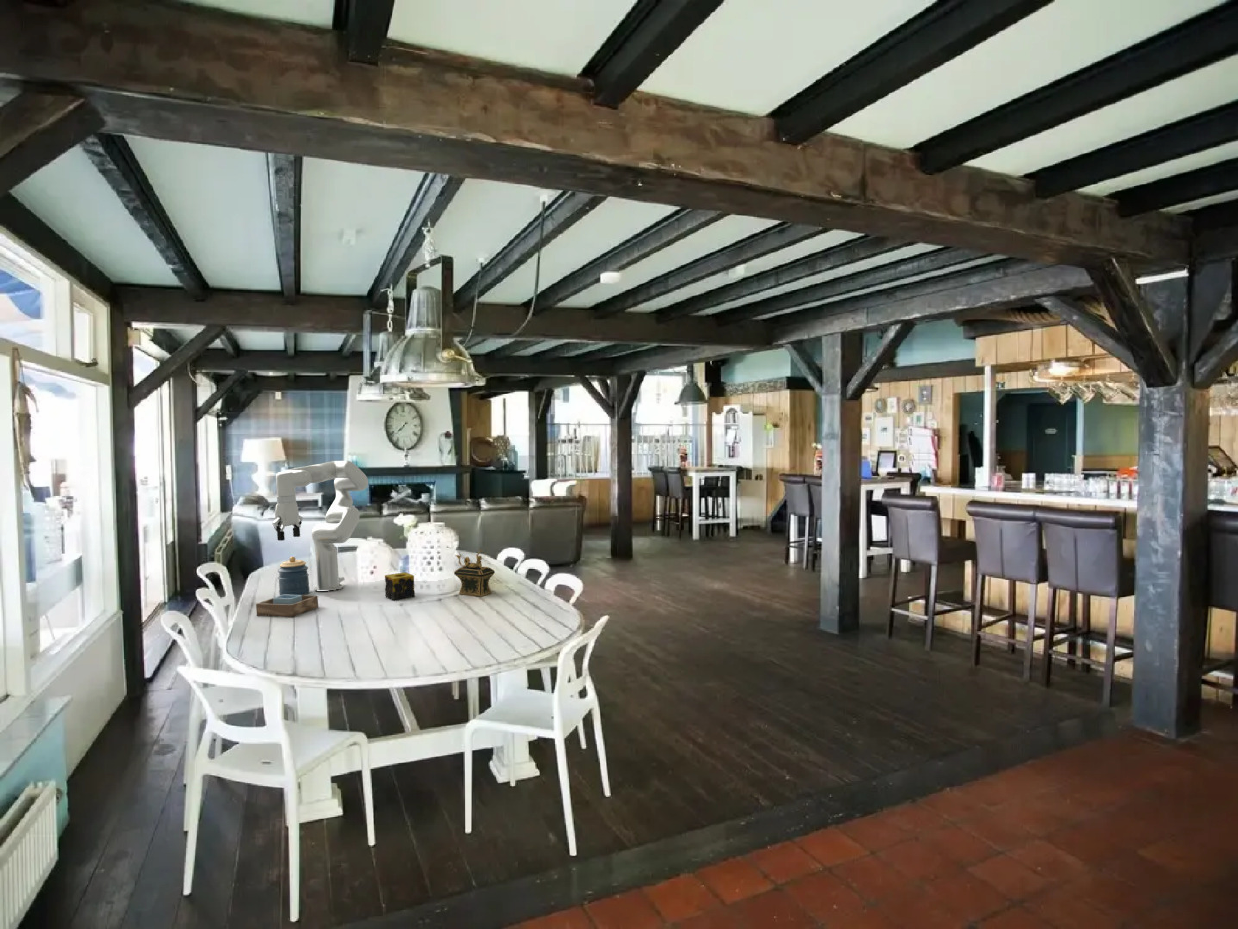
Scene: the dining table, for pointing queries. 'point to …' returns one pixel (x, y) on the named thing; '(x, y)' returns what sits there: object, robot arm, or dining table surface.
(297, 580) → the canister
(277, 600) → the blue crate
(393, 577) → the black gold cube box
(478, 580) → the decorative box
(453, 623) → the dining table surface
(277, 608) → the walnut crate
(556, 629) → the dining table surface
